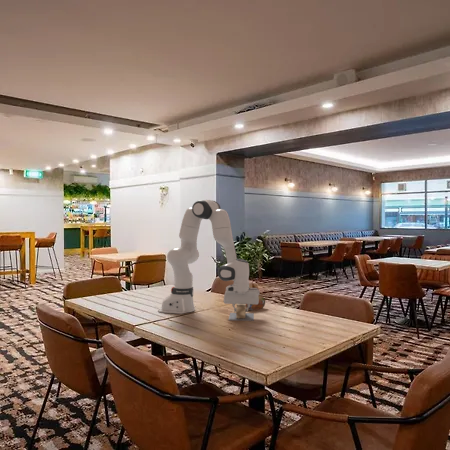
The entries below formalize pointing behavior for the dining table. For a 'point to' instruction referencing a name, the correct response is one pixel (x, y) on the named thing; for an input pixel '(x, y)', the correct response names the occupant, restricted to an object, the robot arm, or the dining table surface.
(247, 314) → the card
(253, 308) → the tin
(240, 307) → the oak block
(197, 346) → the dining table surface
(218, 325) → the dining table surface
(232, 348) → the dining table surface
